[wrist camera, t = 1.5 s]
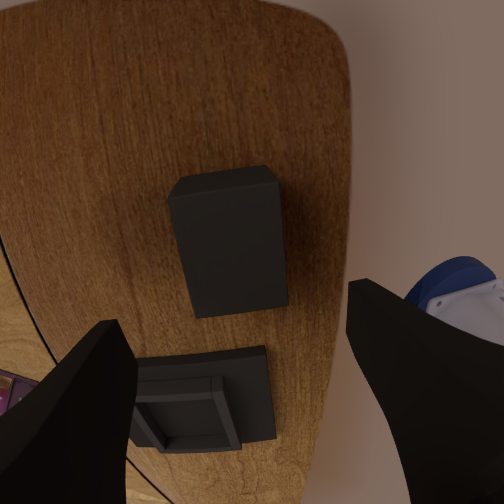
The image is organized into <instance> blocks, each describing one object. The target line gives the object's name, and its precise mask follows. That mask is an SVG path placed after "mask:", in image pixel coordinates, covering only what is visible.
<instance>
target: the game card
mask: <svg viewBox="0 0 504 504" xmlns="http://www.w3.org/2000/svg"><path fill="white" fill-rule="evenodd" d="M0 375H3V376H6V377H9V378H11V379H12V381H11V385H10V389H9V391H8V390H6V389H4V388H0V416H1V415H2V414H3V413H5V412H6V411H8V410H9V409H10V408H12V407H13V406H14V405H15V404H17V403H18V402H19V401H20V400H21V399H22V398H23V397H25V396H26V395H27V394H28V393H29V392H30V391H31V390H32V389H34V388H35V387H36V386H37V385H38V384H39V383H38V382H35V381H32V380H29V379H26V378H22V377H19V376H16V375H13V374H10V373H8V372H5V371H2V370H0Z"/></svg>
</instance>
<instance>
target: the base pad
mask: <svg viewBox="0 0 504 504" xmlns="http://www.w3.org/2000/svg"><path fill="white" fill-rule="evenodd" d="M136 360H137V362H138V364H139V368H138V385H137V395H136V400H135V406H134V411H133V417H132V422H131V428H130V433H129V438H130V439H131V440H132V441H133V443H134V444H135V445H136V446H137V447H156V449H157V450H158V451H159V452H160V453H206V452H222V451H235V450H242V445H241V443H250V442H258V441H265V440H272V439H277V437H276V429H275V421H274V412H273V404H272V396H271V388H270V380H269V372H268V364H267V356H266V350H265V346H257V347H250V348H243V349H236V350H228V351H219V352H211V353H201V354H191V355H180V356H169V357H155V358H139V359H136Z"/></svg>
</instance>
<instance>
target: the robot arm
mask: <svg viewBox="0 0 504 504" xmlns="http://www.w3.org/2000/svg"><path fill="white" fill-rule="evenodd" d="M503 283H504V280H503V279H502V278H498V279H495V280H492V281H489V282H485V283H482V284H479V285H476V286H473V287H469V288H466V289H463V290H459V291H456V292H452V293H449V294H445V295H442V296H438V297H434V298H432V299H430V300H429V302H428V305H427V309H426V312H425V311H423V310H421V309H419V308H418V307H416V306H414V305H412V304H411V303H409V302H407V301H406V300H404V299H402V298H400V297H399V296H397V295H395V294H394V293H392V292H390V291H389V290H387V289H385V288H384V287H382V286H380V285H379V284H377V283H375V282H373V281H371V280H369V279H367V278H365V279H360V280H355V281H350V282H349V284H348V305H347V322H346V334H347V337H348V340H349V343H350V345H351V348H352V350H353V353H354V356H355V358H356V360H357V362H358V364H359V366H360V368H361V370H362V372H363V374H364V376H365V378H366V380H367V381H368V384H369V385H370V387H371V389H372V391H373V393H374V395H375V397H376V399H377V401H378V403H379V405H380V407H381V408H382V410H383V413H384V415H385V417H386V419H387V421H388V424H389V427H390V430H391V433H392V436H393V438H394V441H395V444H396V447H397V450H398V454H399V457H400V460H401V464H402V467H403V471H404V475H405V478H406V482H407V486H408V491H409V495H410V501H411V504H504V290H503V289H502V287H503ZM138 368H139V364H138V362H137V360H136V358H135V356H134V354H133V352H132V350H131V348H130V346H129V344H128V342H127V340H126V338H125V336H124V334H123V332H122V329H121V327H120V325H119V323H118V321H117V319H112V320H103V321H100V322H98V323H97V324H96V325H95V326H94V327H93V328H92V329H91V330H90V331H89V332H88V333H87V334H86V335H85V336H84V337H83V338H82V339H81V340H80V341H79V342H78V343H77V344H76V345H75V346H74V347H73V349H72V350H71V351H70V352H69V353H68V354H67V355H66V356H65V357H64V358H63V359H62V360H61V361H60V362H59V363H58V364H57V365H56V367H55V368H54V369H53V370H52V371H51V372H50V373H49V374H48V375H47V376H46V377H45V378H44V379H43V380H42V381H41V382H40V383H39V384H38V385H37V386H36V387H35V388H34V389H32V390H31V391H30V392H29V393H28V394H27V395H26V396H25V397H23V398H22V399H21V400H20V401H19V402H18V403H17V404H15V405H14V406H13V407H12V408H10V409H9V410H8V411H6V412H5V413H3V414H2V415H1V416H0V504H126V486H125V474H126V453H127V445H128V439H129V433H130V428H131V422H132V417H133V411H134V406H135V400H136V395H137V385H138Z"/></svg>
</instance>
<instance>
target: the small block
mask: <svg viewBox="0 0 504 504" xmlns="http://www.w3.org/2000/svg"><path fill="white" fill-rule="evenodd" d="M167 201H168V205H169V210H170V215H171V220H172V224H173V229H174V233H175V238H176V242H177V246H178V251H179V255H180V259H181V263H182V267H183V271H184V275H185V279H186V283H187V287H188V291H189V295H190V299H191V303H192V306H193V310H194V314H195V317H196V318H197V319H198V318H207V317H215V316H222V315H230V314H237V313H244V312H251V311H258V310H265V309H272V308H278V307H284V306H288V305H289V300H288V285H287V270H286V257H285V243H284V231H283V219H282V207H281V196H280V185H279V182H278V180H277V179H276V178H275V176H274V175H273V174H272V173H271V171H270V170H269V169H268V168H267V166H266V165H263V166H255V167H247V168H239V169H232V170H225V171H218V172H212V173H205V174H199V175H193V176H187V177H181V178H180V179H179V181H178V182H177V184H176V185H175V187H174V189H173V190H172V192H171V193H170V195H169V196H168V198H167Z"/></svg>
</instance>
